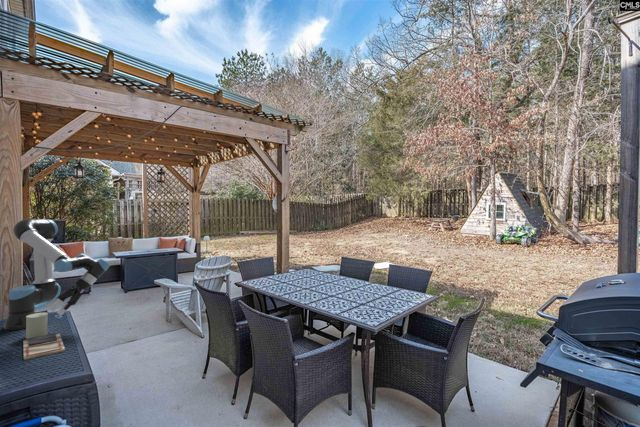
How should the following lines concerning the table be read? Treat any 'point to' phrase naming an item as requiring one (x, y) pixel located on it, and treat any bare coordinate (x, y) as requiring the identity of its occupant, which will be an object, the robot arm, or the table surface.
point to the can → (36, 325)
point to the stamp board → (42, 346)
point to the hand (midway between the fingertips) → (54, 312)
